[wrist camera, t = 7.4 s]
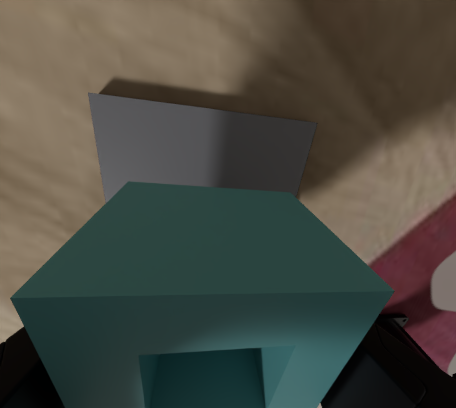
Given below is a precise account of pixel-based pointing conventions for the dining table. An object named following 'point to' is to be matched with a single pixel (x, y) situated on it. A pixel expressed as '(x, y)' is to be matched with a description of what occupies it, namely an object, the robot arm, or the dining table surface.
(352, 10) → the dining table surface
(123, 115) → the post stand
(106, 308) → the teal block with hole
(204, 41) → the dining table surface
